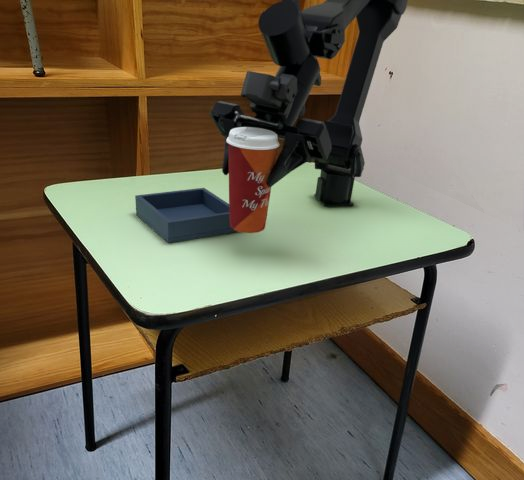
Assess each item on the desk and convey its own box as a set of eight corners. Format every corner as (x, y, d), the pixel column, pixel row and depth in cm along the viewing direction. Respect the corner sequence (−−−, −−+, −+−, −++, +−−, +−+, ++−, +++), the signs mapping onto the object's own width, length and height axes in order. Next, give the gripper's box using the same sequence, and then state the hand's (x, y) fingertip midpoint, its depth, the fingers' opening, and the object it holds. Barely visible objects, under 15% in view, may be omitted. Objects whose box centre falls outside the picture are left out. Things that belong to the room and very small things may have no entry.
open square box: (203, 205, 102) (204, 187, 100) (240, 231, 93) (241, 211, 91) (136, 214, 95) (135, 195, 93) (168, 243, 86) (167, 222, 84)
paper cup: (254, 240, 80) (261, 142, 71) (213, 226, 83) (215, 131, 75) (281, 225, 85) (290, 133, 77) (241, 212, 88) (246, 123, 80)
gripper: (218, 39, 76) (170, 132, 75) (335, 57, 69) (285, 161, 67) (245, 93, 87) (203, 176, 85) (350, 114, 79) (306, 205, 78)
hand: (245, 179), depth 78 cm, fingers closed on paper cup, 7 cm apart
